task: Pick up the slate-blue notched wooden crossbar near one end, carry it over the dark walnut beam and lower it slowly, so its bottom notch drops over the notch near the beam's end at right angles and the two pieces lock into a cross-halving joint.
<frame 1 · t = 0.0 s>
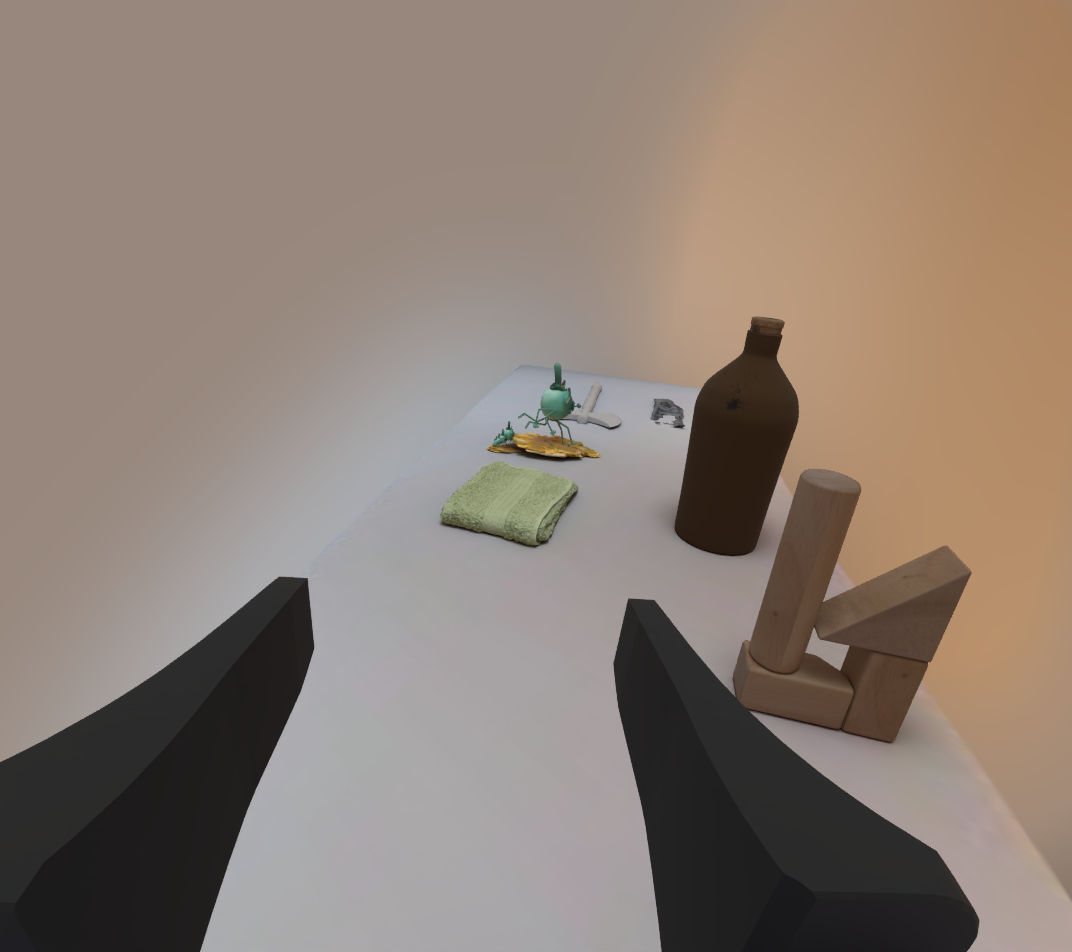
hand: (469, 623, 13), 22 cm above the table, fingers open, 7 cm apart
washcloth: (511, 510, 70), on the table
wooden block: (807, 710, 43), on the table
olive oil: (714, 536, 68), on the table
driftwood: (665, 416, 118), on the table
axe: (589, 409, 117), on the table
frog figurine: (543, 452, 89), on the table
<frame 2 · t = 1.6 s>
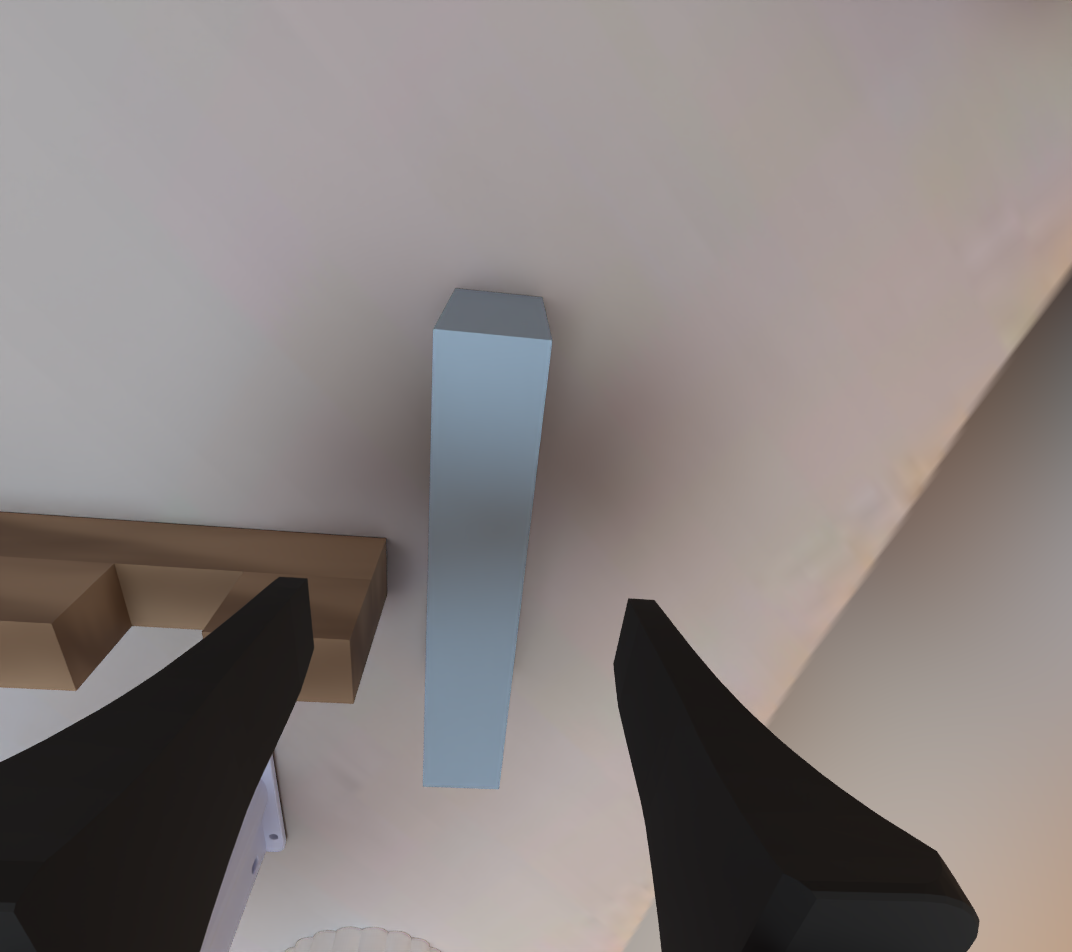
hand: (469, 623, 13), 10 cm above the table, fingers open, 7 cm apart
walnut beam: (146, 551, 24), on the table
slate crossbar: (482, 514, 24), on the table
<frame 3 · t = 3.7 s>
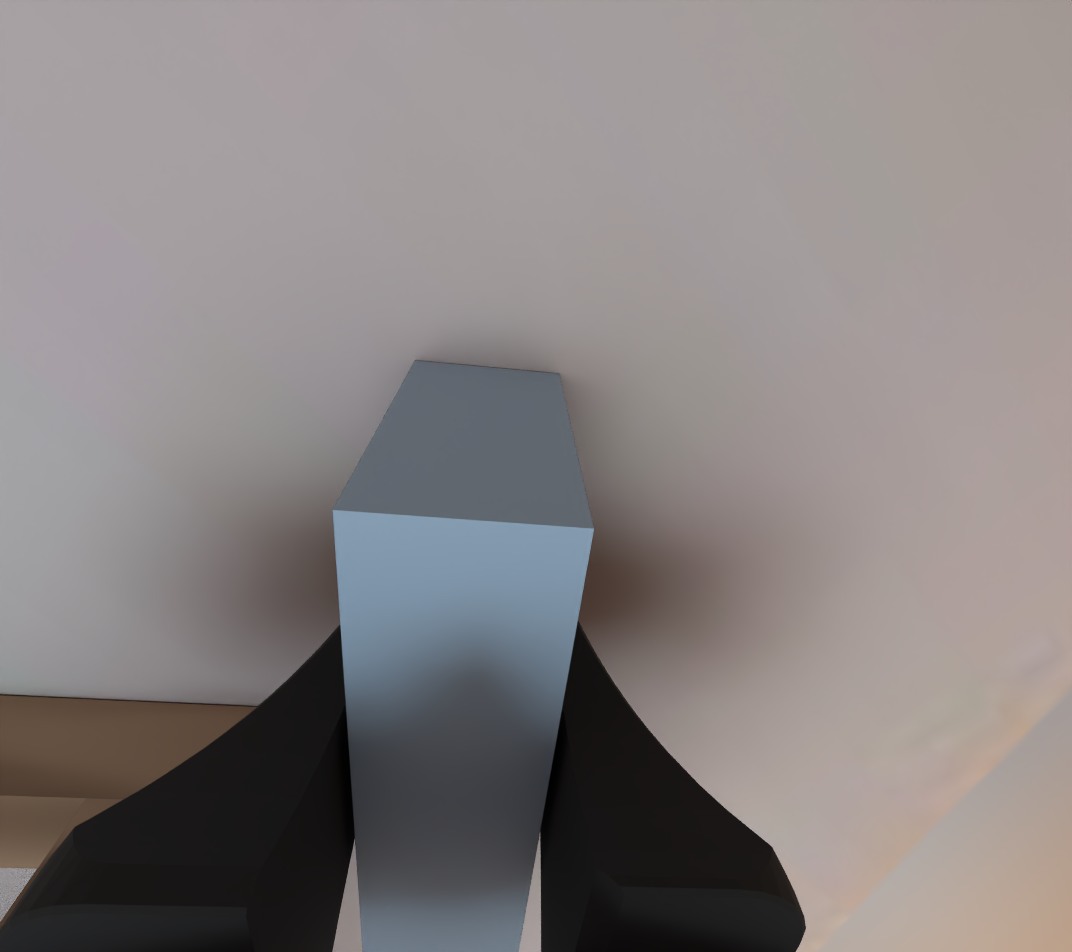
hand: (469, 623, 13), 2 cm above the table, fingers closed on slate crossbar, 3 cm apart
slate crossbar: (466, 678, 16), on the table, touching gripper
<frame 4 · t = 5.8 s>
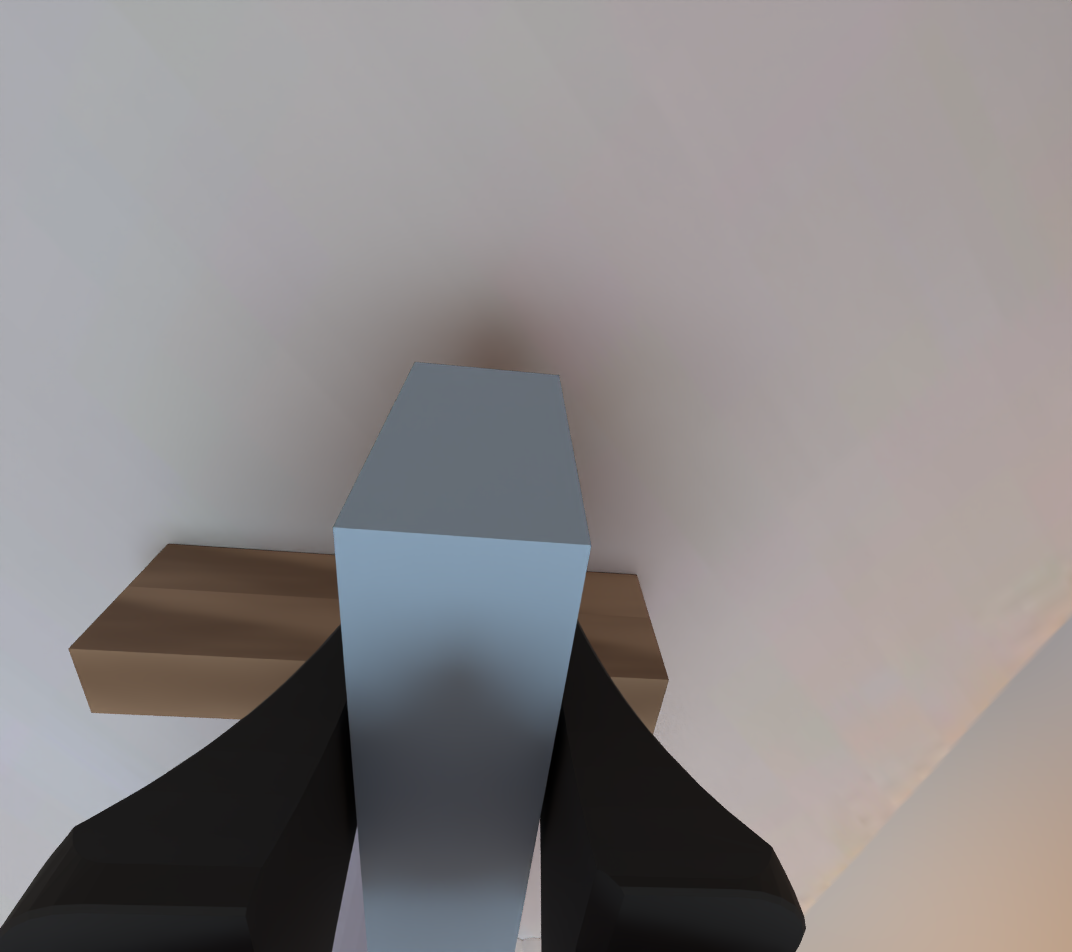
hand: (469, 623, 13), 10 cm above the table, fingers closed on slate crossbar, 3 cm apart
walnut beam: (409, 587, 25), on the table
slate crossbar: (467, 671, 16), point 8 cm above the table, touching gripper
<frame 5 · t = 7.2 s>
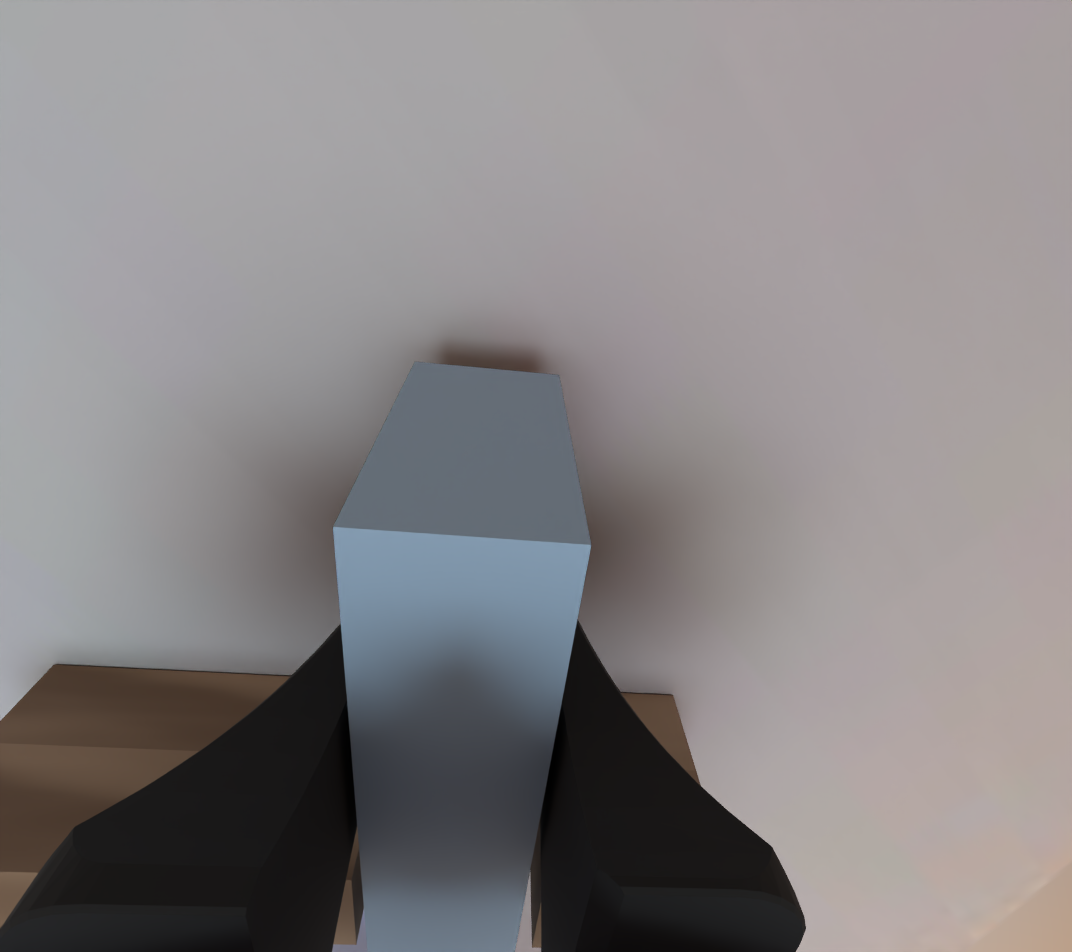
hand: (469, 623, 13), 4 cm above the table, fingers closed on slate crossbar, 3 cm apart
walnut beam: (377, 712, 19), on the table
slate crossbar: (467, 671, 16), point 2 cm above the table, touching gripper
when the fingers open (3 cm above the table, at t = 8.3 s): slate crossbar stays where it is, on the table.
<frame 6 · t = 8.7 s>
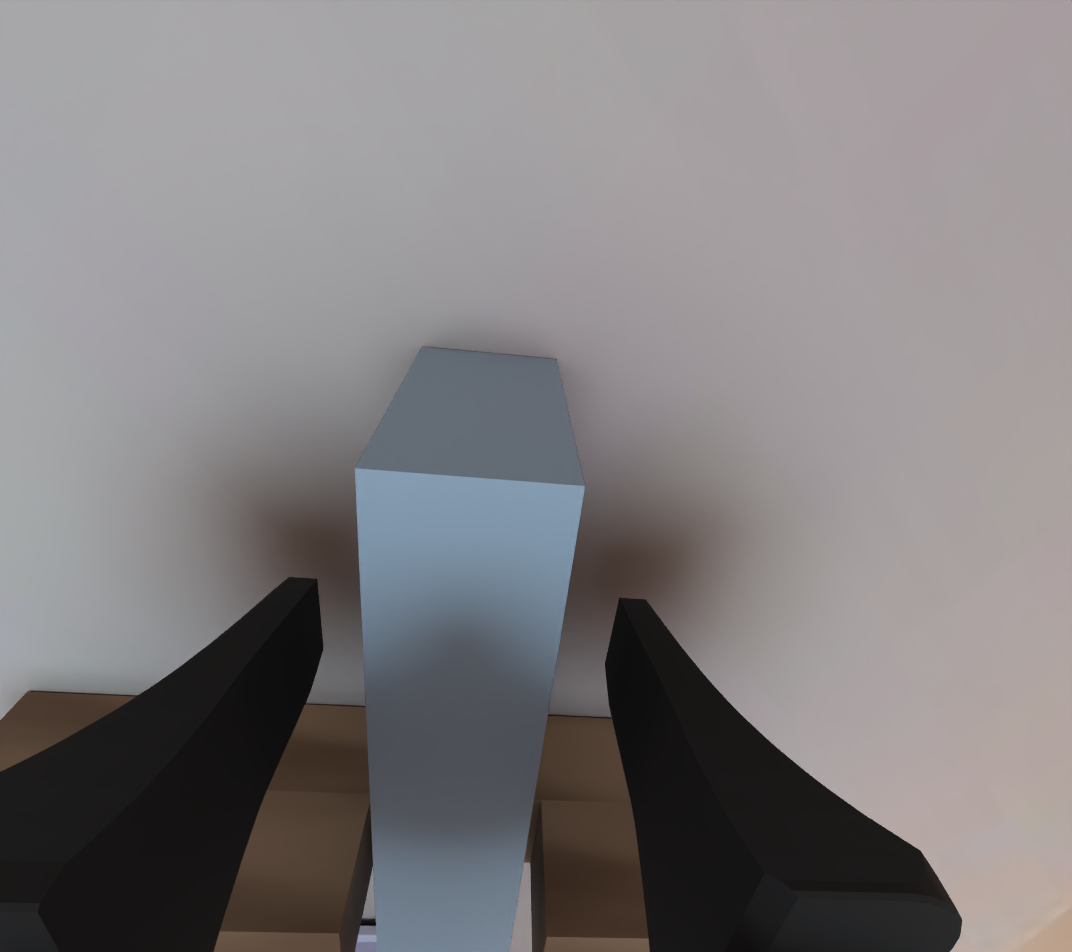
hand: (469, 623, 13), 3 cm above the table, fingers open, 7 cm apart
walnut beam: (370, 739, 18), on the table
slate crossbar: (469, 651, 17), on the table
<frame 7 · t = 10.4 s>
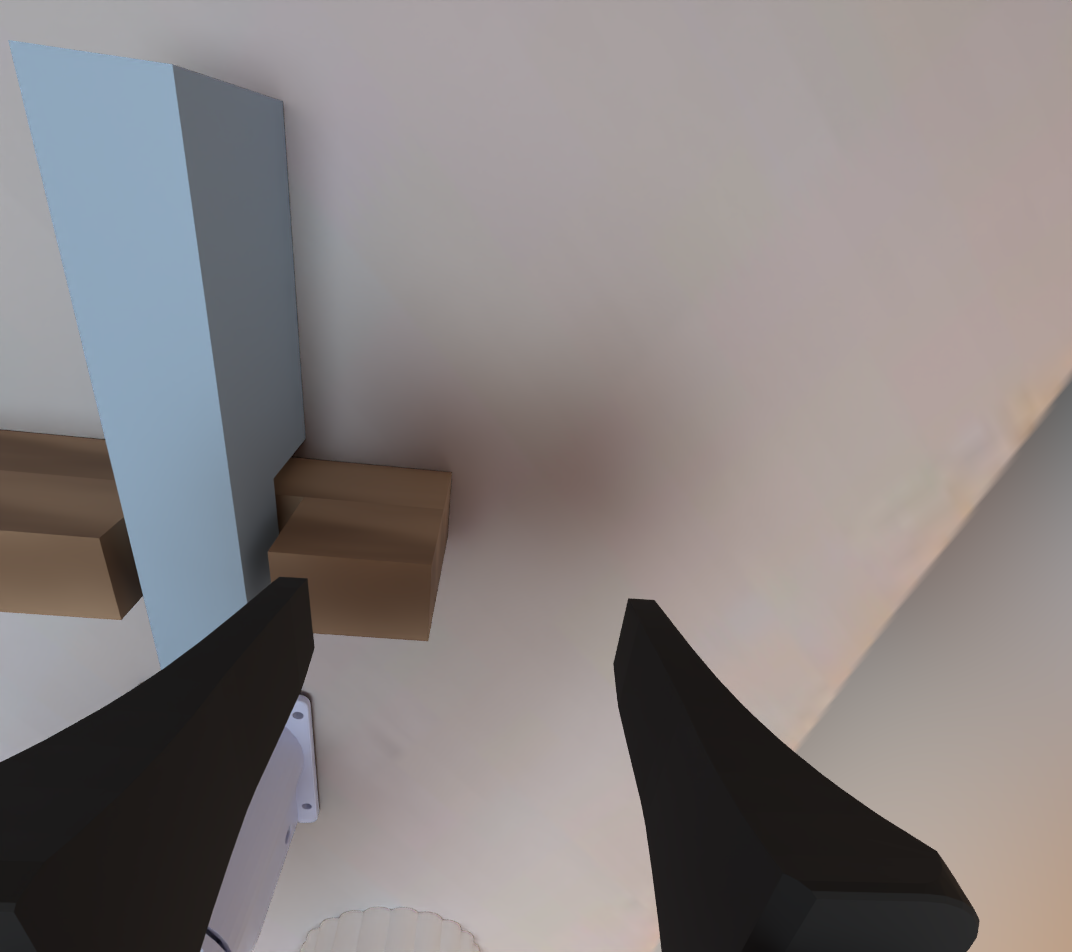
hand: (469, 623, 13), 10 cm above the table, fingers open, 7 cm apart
walnut beam: (189, 482, 22), on the table
slate crossbar: (259, 391, 20), on the table
mooncake: (393, 946, 40), on the table
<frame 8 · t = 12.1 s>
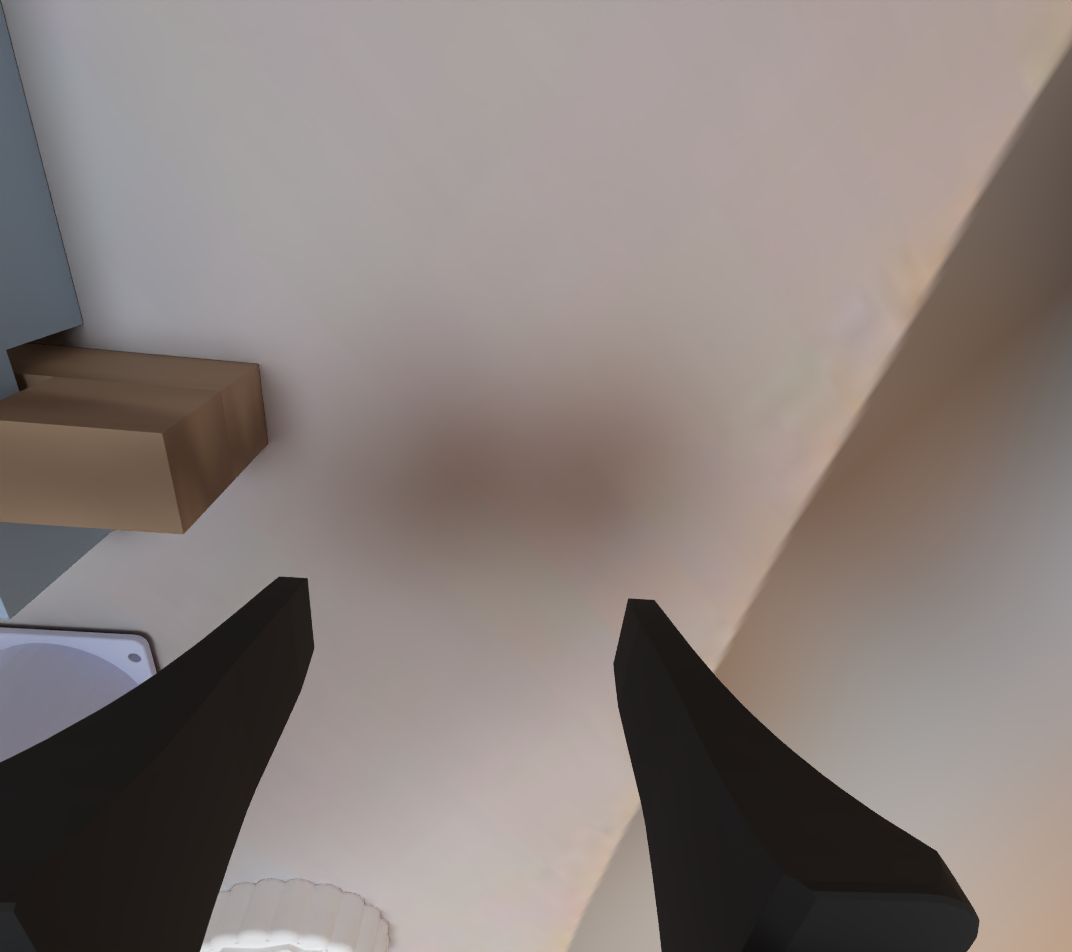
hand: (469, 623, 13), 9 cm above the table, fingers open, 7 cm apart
slate crossbar: (18, 264, 18), on the table
mooncake: (297, 922, 37), on the table
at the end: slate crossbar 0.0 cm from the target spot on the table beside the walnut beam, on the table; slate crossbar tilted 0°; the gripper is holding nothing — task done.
